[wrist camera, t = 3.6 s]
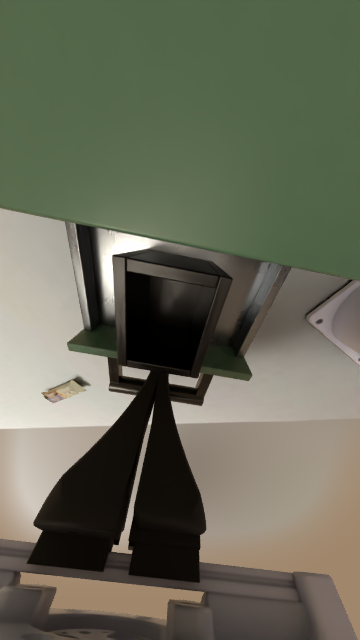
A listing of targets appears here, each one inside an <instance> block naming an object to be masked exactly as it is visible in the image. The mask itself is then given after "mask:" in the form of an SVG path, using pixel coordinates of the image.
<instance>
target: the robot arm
mask: <svg viewBox="0 0 360 640" xmlns="http://www.w3.org/2000/svg"><path fill="white" fill-rule="evenodd" d="M306 319H307V321H308V322H310V323H311V324H312V325H313V326H314V327H315V328H316V329H318V330H319V331H320V332H321V333H322V334H323V335H325V336H326V337H327V338H328V339H329V340H330V341H331V342H333V343H334V344H335V345H336V346H337V347H338V348H340V349H341V350H342V351H343V352H344V353H345V354H346V355H348V356H349V357H350V358H351V359H352V360H353V361H355V362H356V363H357V364H358V365H359V366H360V281H357V280H353V281H352V282H350V283H349V284H348V285H346V286H345V287H344V288H342V289H341V290H340V291H338V292H337V293H336V294H335V295H333V296H332V297H331V298H329V299H328V300H327V301H325V302H324V303H323V304H321V305H320V306H319V307H317V308H316V309H315V310H313V311H312V312H311V313H309V314H308V315H307V317H306ZM318 319H319V320H318ZM317 320H318V321H317ZM168 376H169V374H168V373H162V372H156V371H150V374H149V376H148V378H147V379H146V381H145V383H144V385H143V386H142V388H141V389H140V391H139V392H138V394H137V395H136V397H135V398H134V399H133V401H132V402H131V403H130V405H129V406H128V407H127V409H126V410H125V411H124V413H123V414H122V415H121V416H120V417H119V419H118V420H117V421H116V422H115V423H114V424H113V425H112V427H111V428H110V429H109V430H108V431H107V432H106V433H105V434H104V435H103V436H102V438H101V439H100V440H99V441H98V442H97V443H96V444H95V445H94V446H93V447H92V448H91V449H90V450H89V451H88V452H87V453H86V454H85V455H84V456H83V457H82V458H80V459H79V460H78V461H77V462H76V463H75V464H74V465H73V466H72V467H71V468H70V469H69V470H68V471H67V472H66V473H65V474H63V476H62V477H61V479H60V480H59V481H58V482H57V484H56V485H55V486H54V488H53V489H52V491H51V493H50V494H49V496H48V497H47V499H46V500H45V502H44V504H43V506H42V508H41V510H40V511H39V513H38V515H37V517H36V519H35V520H34V526H35V527H37V528H39V529H41V530H43V532H42V533H41V535H40V537H39V539H38V541H37V543H31V542H22V541H14V540H5V539H0V640H358V639H357V636H356V634H355V632H354V629H353V627H352V625H351V622H350V620H349V618H348V615H347V613H346V611H345V608H344V606H343V604H342V601H341V599H340V597H339V594H338V592H337V590H336V587H335V585H334V582H333V580H332V578H331V577H330V576H329V575H324V574H317V573H308V572H293V573H288V572H278V571H270V570H262V569H253V568H245V567H236V566H228V565H219V564H211V563H202V562H199V550H200V535H201V534H203V533H204V532H205V531H206V520H205V513H204V508H203V503H202V499H201V495H200V492H199V489H198V487H197V484H196V482H195V479H194V477H193V474H192V472H191V469H190V466H189V464H188V461H187V459H186V455H185V453H184V449H183V447H182V444H181V441H180V437H179V434H178V431H177V427H176V423H175V419H174V415H173V410H172V405H171V399H170V393H169V382H168ZM154 401H155V402H154ZM153 405H154V410H153V418H152V424H151V429H150V434H149V439H148V444H147V448H146V453H145V458H144V462H143V467H142V472H141V476H140V481H139V486H138V491H137V495H136V500H135V504H134V515H133V521H132V525H131V530H130V535H129V546H128V549H129V550H133V552H132V554H125V553H117V552H111V551H112V547H113V545H119V540H120V536H121V532H122V531H123V530H124V527H125V522H126V518H127V513H128V508H129V503H130V498H131V494H132V489H133V485H134V480H135V476H136V471H137V466H138V462H139V456H140V453H141V448H142V443H143V439H144V435H145V432H146V428H147V425H148V422H149V418H150V415H151V412H152V408H153ZM20 572H26V573H35V574H45V575H54V576H63V577H73V578H81V579H91V580H100V581H109V582H118V583H127V584H136V585H146V586H156V587H164V588H173V589H182V590H183V589H184V590H192V591H202V592H204V594H203V596H202V600H201V602H200V603H198V602H193V601H187V600H169V602H168V611H167V620H165V619H158V618H152V617H145V616H138V615H131V614H124V613H114V612H105V611H91V610H74V609H55V608H50V606H51V604H52V601H53V599H54V596H55V593H56V587H51V586H46V585H38V584H20V577H21V575H20Z"/></svg>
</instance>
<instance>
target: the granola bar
mask: <svg viewBox="0 0 360 640" xmlns="http://www.w3.org/2000/svg"><path fill="white" fill-rule="evenodd" d="M83 391H86V390H85V389H84V388H83V387H82V386H80V385H79V384H77V383H76V382H75V381H73V380H71V381H70V382H68V383H66V384H63V385H61V386H59V387H56V388H54V389H52V390H50V391H48V392H42V394H43V395H44V397H45V398H46V399H47V400H49V401H50V402H52V403H55V402H58V401H60V400H63V399H65V398H68V397H70V396H73V395H75V394H78V393H79V392H83Z"/></svg>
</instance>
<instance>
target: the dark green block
mask: <svg viewBox="0 0 360 640" xmlns="http://www.w3.org/2000/svg"><path fill="white" fill-rule="evenodd" d="M0 208H2V209H7V210H12V211H17V212H22V213H26V214H31V215H36V216H41V217H46V218H51V219H56V220H61V221H66V222H71V223H76V224H81V225H86V226H91V227H96V228H101V229H105V230H110V231H115V232H120V233H125V234H130V235H135V236H140V237H145V238H150V239H155V240H160V241H165V242H170V243H175V244H180V245H185V246H189V247H194V248H199V249H204V250H209V251H214V252H219V253H224V254H229V255H234V256H239V257H244V258H249V259H254V260H259V261H264V262H268V263H273V264H278V265H283V266H288V267H293V268H298V269H303V270H308V271H313V272H318V273H323V274H328V275H333V276H338V277H343V278H348V279H352V280H357V281H360V0H0Z"/></svg>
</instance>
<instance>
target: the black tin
mask: <svg viewBox="0 0 360 640" xmlns="http://www.w3.org/2000/svg"><path fill="white" fill-rule="evenodd" d="M112 264H113V283H114V303H115V322H116V342H117V361H118V365H120V366H127V367H132V368H138V369H144V370H150V371H156V372H162V373H168V374H174V375H180V376H186V377H191V378H198V376H199V373H200V370H201V368H202V365H203V362H204V359H205V356H206V354H207V351H208V348H209V345H210V342H211V340H212V337H213V334H214V331H215V328H216V326H217V323H218V320H219V317H220V314H221V311H222V309H223V306H224V303H225V300H226V297H227V295H228V292H229V289H230V286H231V283H232V281H233V278H232V277H230V276H229V275H228V274H227V273H226V272H225V271H223V270H222V269H221V268H220V267H219V266H217V265H216V264H215V263H214V262H212V261H207V260H202V259H197V258H192V257H187V256H182V255H177V254H172V253H167V252H162V251H157V250H152V249H142V250H137V251H131V252H125V253H120V254H114V255H112Z"/></svg>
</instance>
